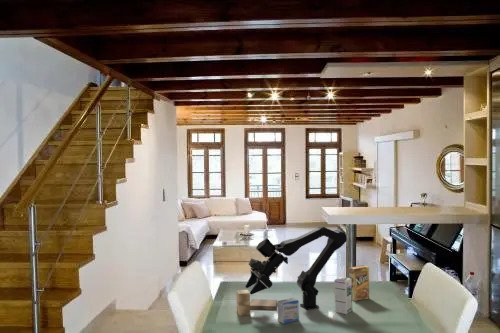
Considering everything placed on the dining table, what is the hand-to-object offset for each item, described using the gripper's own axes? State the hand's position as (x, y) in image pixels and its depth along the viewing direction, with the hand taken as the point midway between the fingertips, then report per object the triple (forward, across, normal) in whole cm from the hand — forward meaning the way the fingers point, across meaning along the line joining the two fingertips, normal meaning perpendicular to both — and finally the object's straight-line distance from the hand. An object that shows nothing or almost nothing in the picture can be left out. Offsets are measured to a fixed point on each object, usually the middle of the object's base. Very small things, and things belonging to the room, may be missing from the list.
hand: (248, 290), depth 194 cm
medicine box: (-3, +14, +17) cm, 22 cm away
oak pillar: (+8, 0, +5) cm, 10 cm away
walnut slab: (+1, -7, +13) cm, 15 cm away
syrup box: (-22, +10, +36) cm, 43 cm away
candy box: (-32, -4, +46) cm, 56 cm away
